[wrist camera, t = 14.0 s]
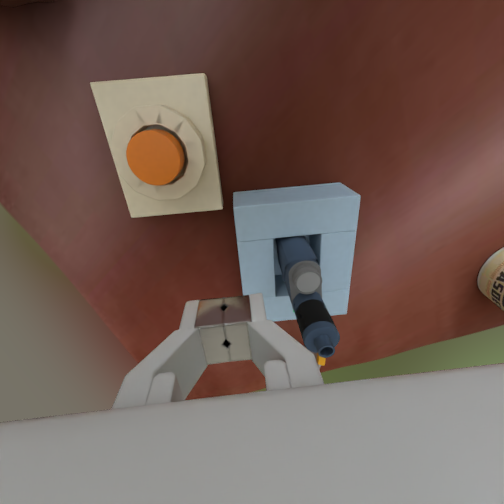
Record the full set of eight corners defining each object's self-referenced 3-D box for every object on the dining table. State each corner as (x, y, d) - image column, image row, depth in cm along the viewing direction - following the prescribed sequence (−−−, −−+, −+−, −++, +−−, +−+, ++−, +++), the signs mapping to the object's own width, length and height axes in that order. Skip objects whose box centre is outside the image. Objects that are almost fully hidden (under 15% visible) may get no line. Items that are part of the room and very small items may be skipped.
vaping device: (278, 270, 27) (307, 368, 17) (272, 224, 25) (301, 305, 14) (302, 266, 27) (346, 362, 17) (299, 219, 25) (348, 297, 14)
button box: (100, 84, 20) (76, 79, 17) (206, 76, 20) (202, 68, 17) (137, 211, 24) (124, 225, 21) (223, 203, 25) (222, 216, 22)
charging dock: (232, 192, 24) (233, 208, 20) (340, 182, 24) (362, 195, 20) (244, 296, 30) (246, 326, 26) (331, 287, 30) (347, 315, 26)
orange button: (128, 131, 19) (118, 132, 17) (179, 126, 19) (174, 127, 17) (141, 182, 20) (134, 188, 19) (188, 178, 20) (185, 183, 19)
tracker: (313, 332, 33) (322, 357, 30) (319, 333, 33) (328, 358, 30) (300, 354, 35) (307, 380, 31) (305, 355, 35) (313, 381, 32)
